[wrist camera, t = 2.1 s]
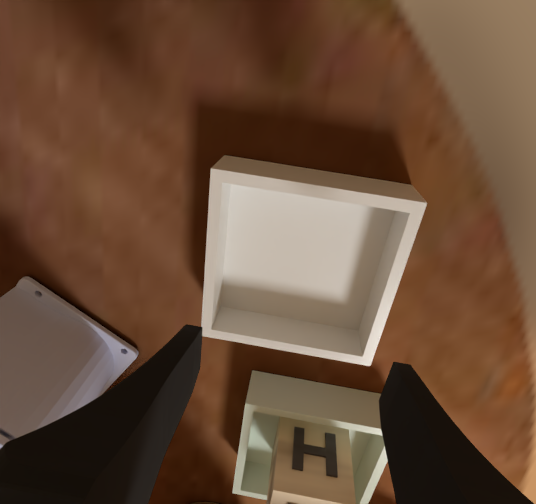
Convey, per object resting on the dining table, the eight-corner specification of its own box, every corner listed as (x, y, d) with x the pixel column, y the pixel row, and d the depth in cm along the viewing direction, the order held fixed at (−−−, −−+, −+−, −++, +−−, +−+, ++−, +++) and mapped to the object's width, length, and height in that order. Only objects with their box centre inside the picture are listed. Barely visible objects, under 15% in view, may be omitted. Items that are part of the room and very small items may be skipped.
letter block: (333, 462, 29) (338, 551, 24) (272, 450, 30) (262, 536, 24) (348, 418, 27) (356, 507, 22) (281, 406, 27) (273, 491, 22)
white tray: (213, 306, 25) (200, 335, 22) (224, 155, 20) (210, 168, 17) (364, 333, 24) (370, 366, 22) (411, 184, 20) (427, 202, 17)
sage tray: (239, 457, 31) (232, 493, 29) (252, 370, 27) (245, 403, 24) (357, 480, 31) (361, 518, 28) (391, 395, 26) (400, 432, 24)
